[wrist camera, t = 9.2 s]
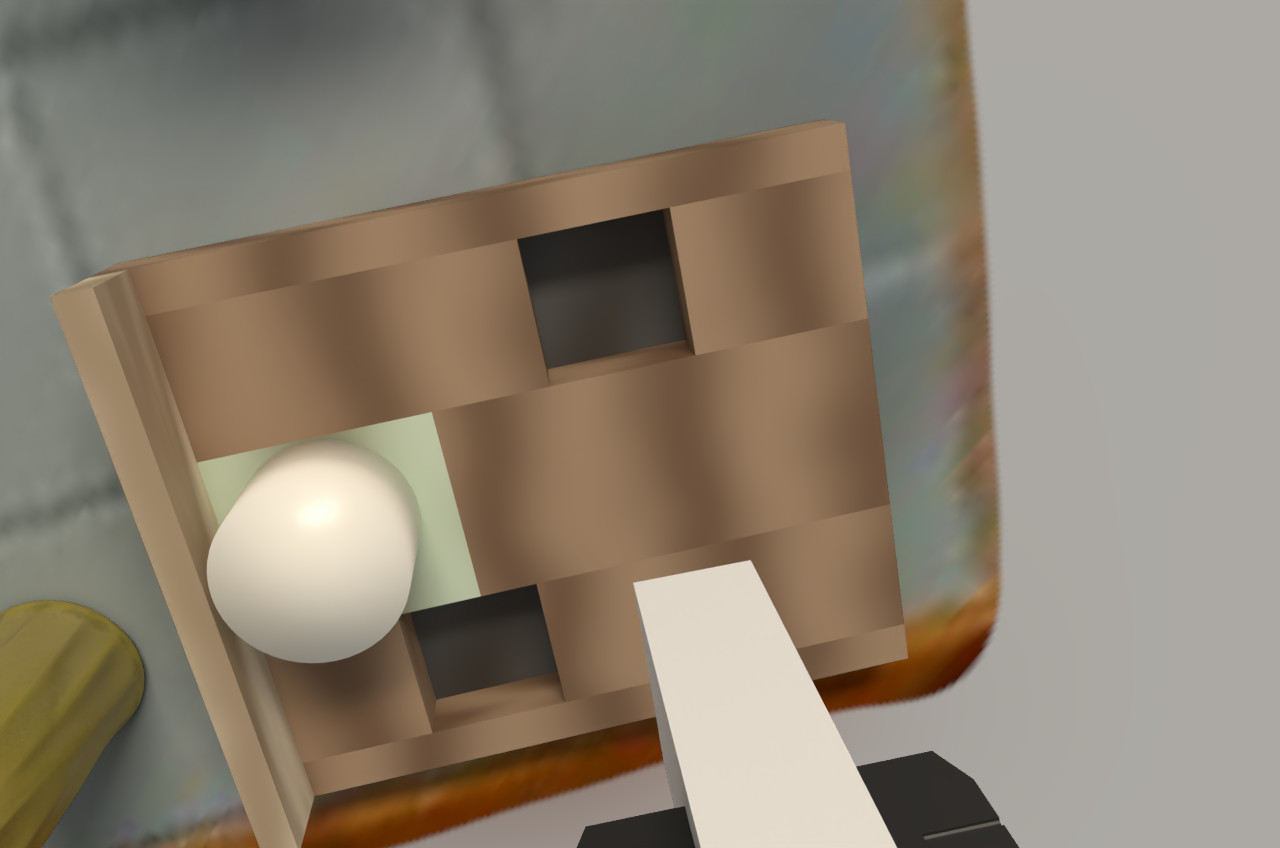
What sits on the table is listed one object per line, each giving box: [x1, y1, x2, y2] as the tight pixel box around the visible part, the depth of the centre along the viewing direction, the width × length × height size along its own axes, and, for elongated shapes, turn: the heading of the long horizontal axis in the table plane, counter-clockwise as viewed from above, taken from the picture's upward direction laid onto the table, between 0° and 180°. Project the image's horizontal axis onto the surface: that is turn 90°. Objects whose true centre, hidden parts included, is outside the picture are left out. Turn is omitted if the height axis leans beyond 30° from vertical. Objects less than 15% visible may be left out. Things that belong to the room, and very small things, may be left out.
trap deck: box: [50, 120, 908, 848], centre depth 36 cm, size 24×20×6 cm
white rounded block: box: [207, 440, 421, 663], centre depth 34 cm, size 6×6×4 cm
